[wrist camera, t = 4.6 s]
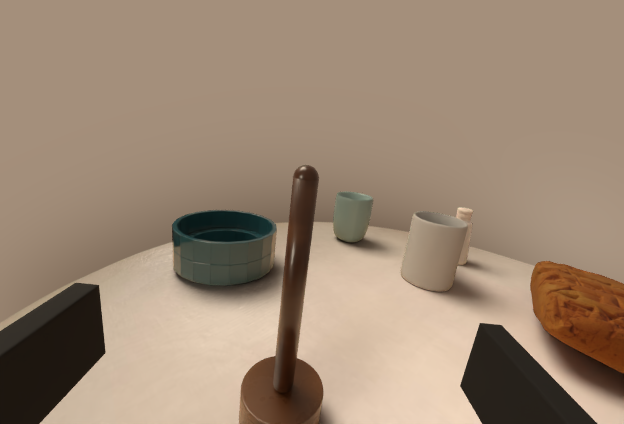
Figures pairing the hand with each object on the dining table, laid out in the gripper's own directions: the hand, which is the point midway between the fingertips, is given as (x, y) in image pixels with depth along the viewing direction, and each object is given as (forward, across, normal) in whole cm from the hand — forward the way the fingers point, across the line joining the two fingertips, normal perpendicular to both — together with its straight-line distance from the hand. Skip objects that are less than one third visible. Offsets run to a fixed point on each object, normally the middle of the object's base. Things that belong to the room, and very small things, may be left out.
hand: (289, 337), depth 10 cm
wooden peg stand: (+10, 0, -15) cm, 18 cm away
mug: (+38, +23, -16) cm, 47 cm away
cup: (+52, +11, -16) cm, 55 cm away
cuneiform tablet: (+23, +40, -16) cm, 49 cm away
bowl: (+34, -12, -15) cm, 39 cm away
